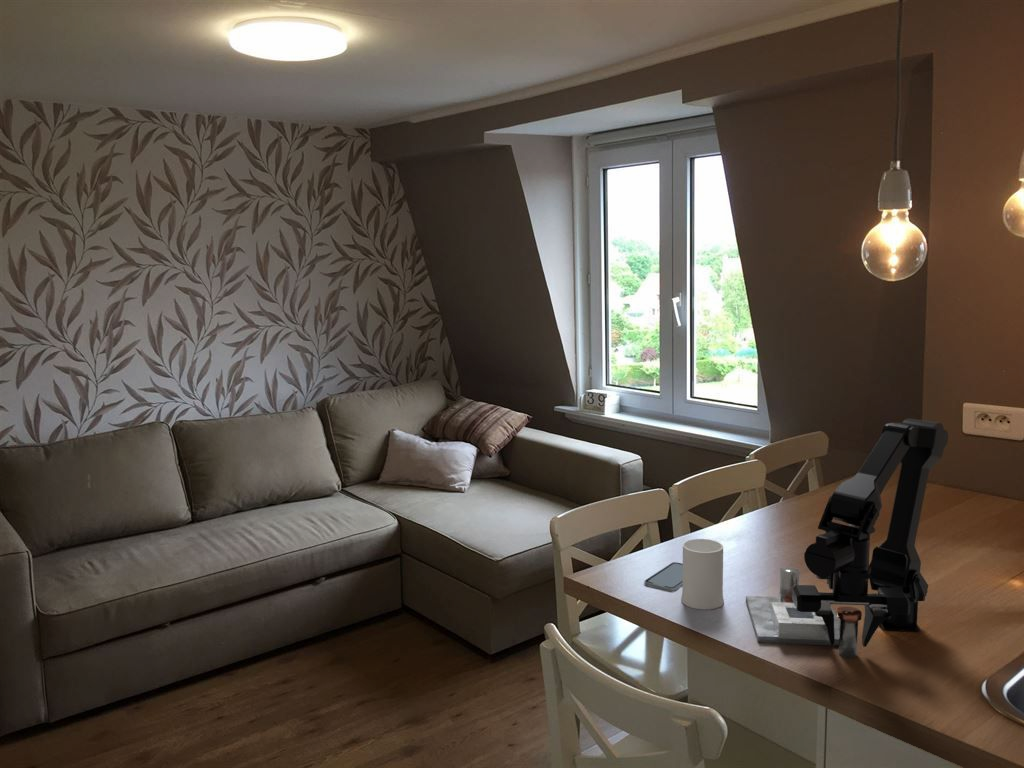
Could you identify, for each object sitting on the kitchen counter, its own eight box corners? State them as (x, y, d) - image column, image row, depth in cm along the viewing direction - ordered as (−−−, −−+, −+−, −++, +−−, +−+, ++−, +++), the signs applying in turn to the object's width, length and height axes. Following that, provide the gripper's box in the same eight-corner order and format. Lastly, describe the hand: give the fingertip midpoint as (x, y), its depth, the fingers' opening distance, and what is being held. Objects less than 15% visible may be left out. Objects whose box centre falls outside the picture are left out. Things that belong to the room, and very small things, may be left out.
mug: (696, 584, 182) (696, 531, 180) (734, 592, 177) (735, 537, 175) (674, 604, 172) (674, 548, 170) (715, 613, 168) (715, 555, 166)
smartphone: (703, 568, 190) (673, 589, 178) (703, 572, 190) (673, 593, 178) (673, 561, 194) (642, 581, 183) (673, 565, 195) (642, 585, 183)
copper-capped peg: (856, 648, 152) (858, 606, 150) (862, 659, 148) (864, 616, 146) (833, 647, 152) (834, 606, 151) (838, 658, 148) (840, 615, 147)
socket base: (827, 604, 170) (828, 565, 169) (850, 647, 152) (851, 604, 151) (745, 601, 173) (746, 563, 171) (758, 643, 155) (759, 601, 153)
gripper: (894, 546, 154) (890, 626, 156) (787, 543, 156) (785, 623, 159) (913, 569, 143) (909, 655, 145) (798, 566, 145) (796, 651, 148)
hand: (847, 645), depth 150 cm, fingers open, 5 cm apart
